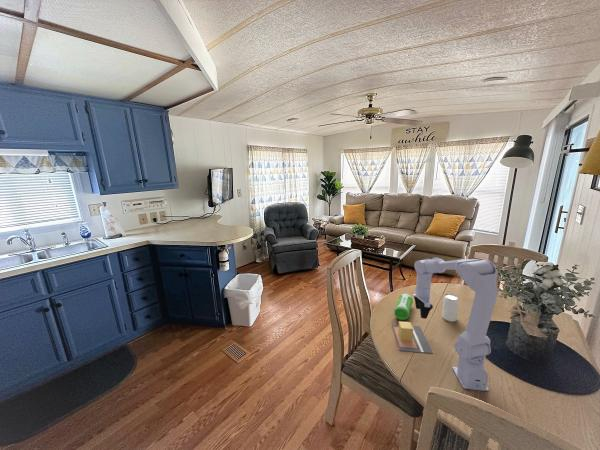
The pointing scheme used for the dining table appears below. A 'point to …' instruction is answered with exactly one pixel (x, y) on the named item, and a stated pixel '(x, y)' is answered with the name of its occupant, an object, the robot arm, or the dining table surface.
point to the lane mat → (418, 341)
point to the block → (405, 331)
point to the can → (450, 307)
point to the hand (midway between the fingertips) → (421, 313)
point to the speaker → (403, 307)
